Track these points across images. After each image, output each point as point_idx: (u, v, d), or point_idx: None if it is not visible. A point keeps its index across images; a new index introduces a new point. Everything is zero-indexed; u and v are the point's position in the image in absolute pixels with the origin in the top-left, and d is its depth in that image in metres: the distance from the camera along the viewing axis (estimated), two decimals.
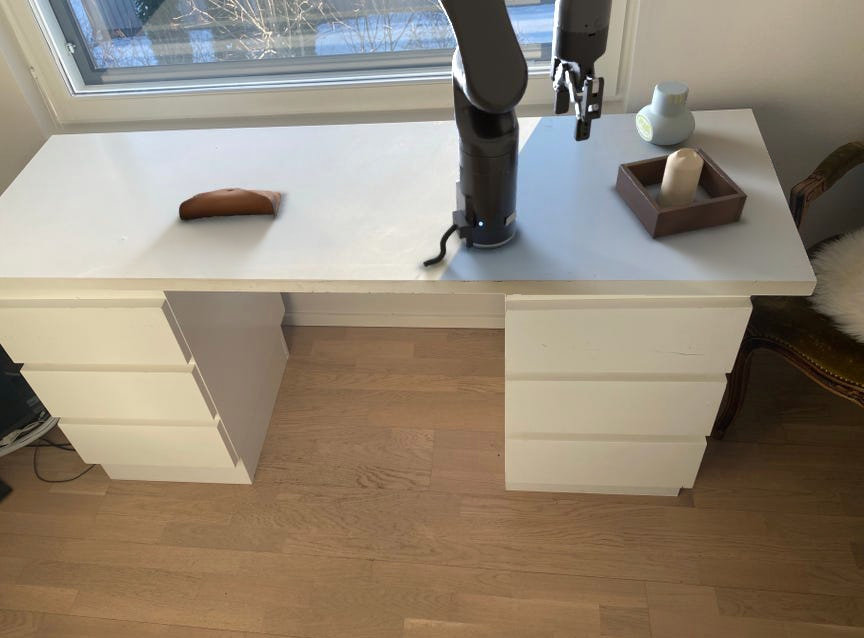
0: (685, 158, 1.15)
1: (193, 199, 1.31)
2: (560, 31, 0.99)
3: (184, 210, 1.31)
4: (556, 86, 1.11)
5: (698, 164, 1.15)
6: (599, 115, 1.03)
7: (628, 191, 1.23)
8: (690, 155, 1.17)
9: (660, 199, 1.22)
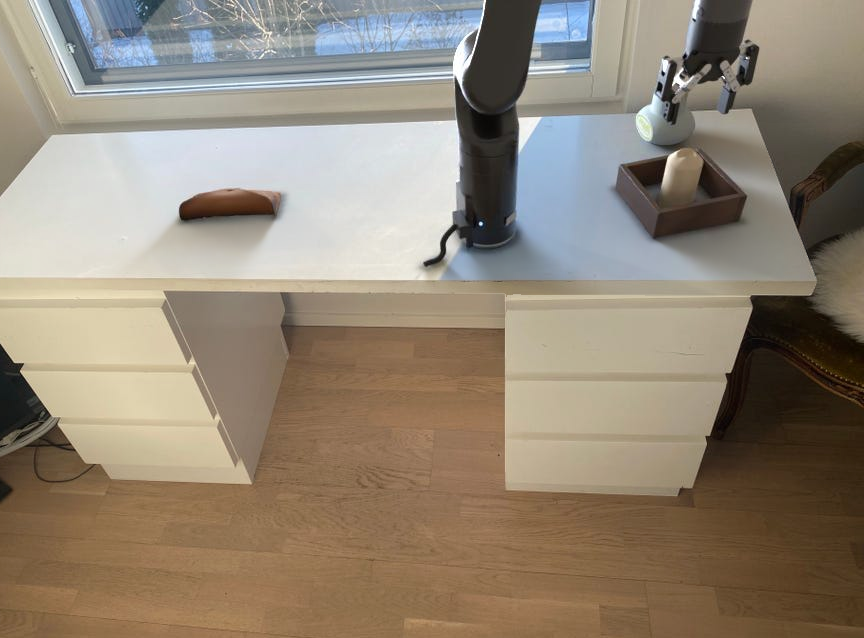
0: (685, 158, 1.15)
1: (193, 199, 1.31)
2: None
3: (184, 210, 1.31)
4: (724, 79, 1.09)
5: (698, 164, 1.15)
6: (661, 97, 1.07)
7: (628, 191, 1.23)
8: (690, 155, 1.17)
9: (660, 199, 1.22)
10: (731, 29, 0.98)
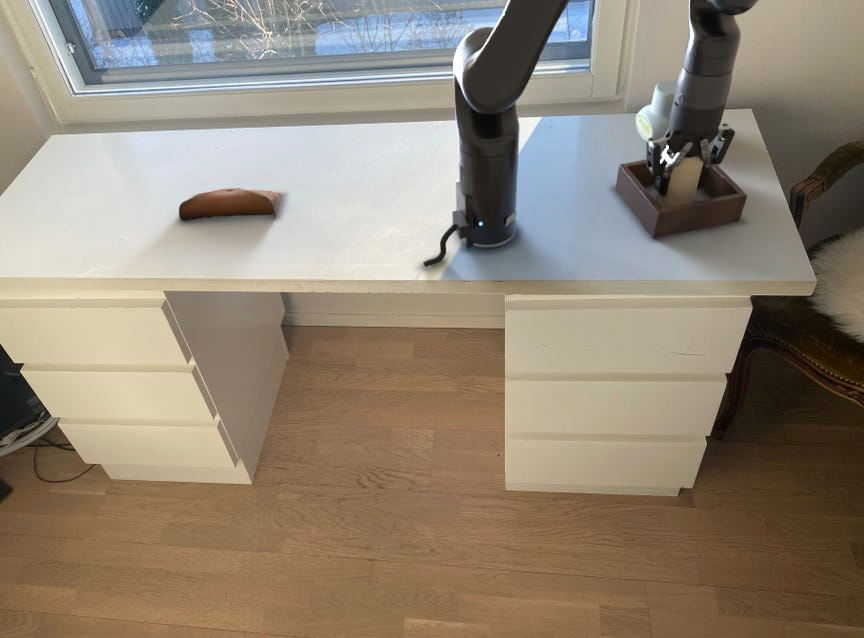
0: (685, 158, 1.15)
1: (193, 199, 1.31)
2: None
3: (184, 210, 1.31)
4: None
5: (698, 164, 1.15)
6: (652, 173, 1.16)
7: (628, 191, 1.23)
8: None
9: (660, 199, 1.22)
10: (710, 114, 1.07)
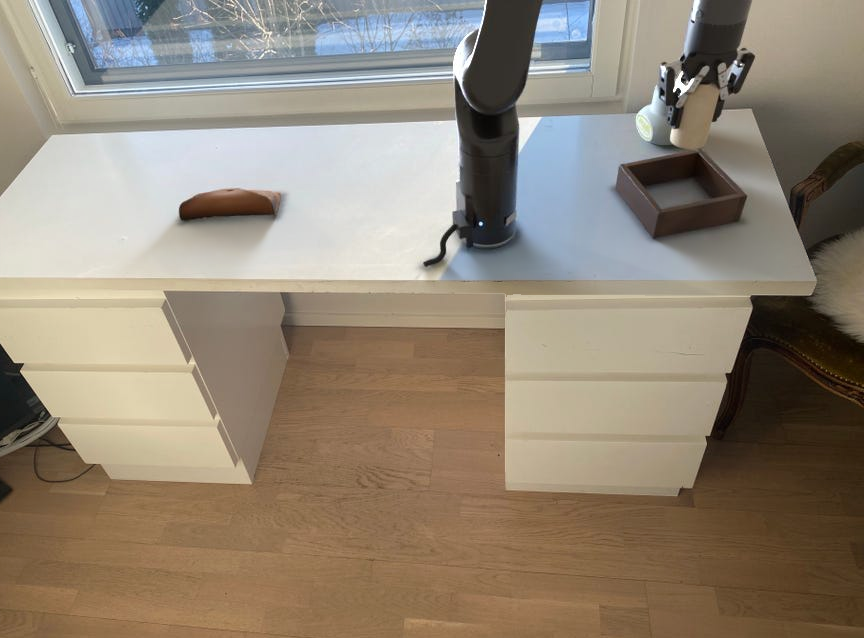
0: (700, 85, 1.06)
1: (193, 199, 1.31)
2: None
3: (184, 210, 1.31)
4: None
5: (715, 92, 1.07)
6: (665, 102, 1.08)
7: (628, 191, 1.23)
8: (706, 83, 1.08)
9: (672, 134, 1.13)
10: (729, 31, 0.98)
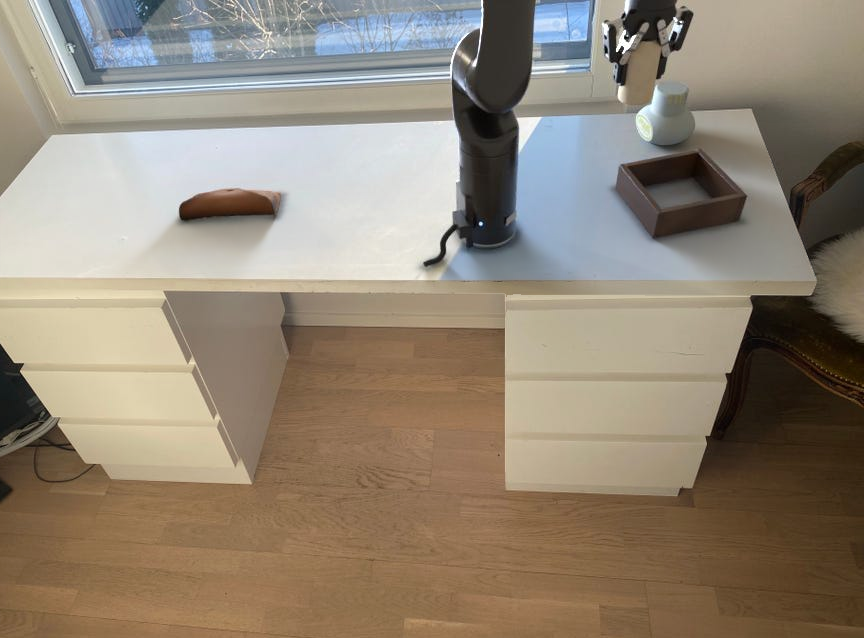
0: (642, 42, 1.11)
1: (193, 199, 1.31)
2: None
3: (184, 210, 1.31)
4: None
5: (656, 49, 1.11)
6: (609, 59, 1.12)
7: (628, 191, 1.23)
8: (648, 41, 1.13)
9: (619, 91, 1.18)
10: None
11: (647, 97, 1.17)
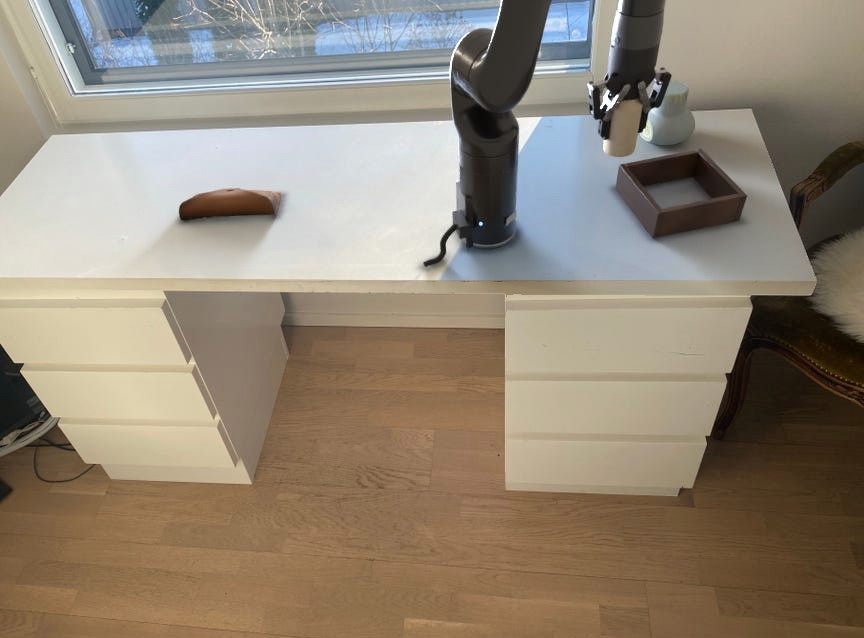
0: (624, 101, 1.20)
1: (193, 199, 1.31)
2: None
3: (184, 210, 1.31)
4: None
5: (637, 107, 1.20)
6: (593, 116, 1.21)
7: (628, 191, 1.23)
8: (630, 99, 1.21)
9: (604, 144, 1.27)
10: (643, 55, 1.12)
11: (630, 149, 1.25)
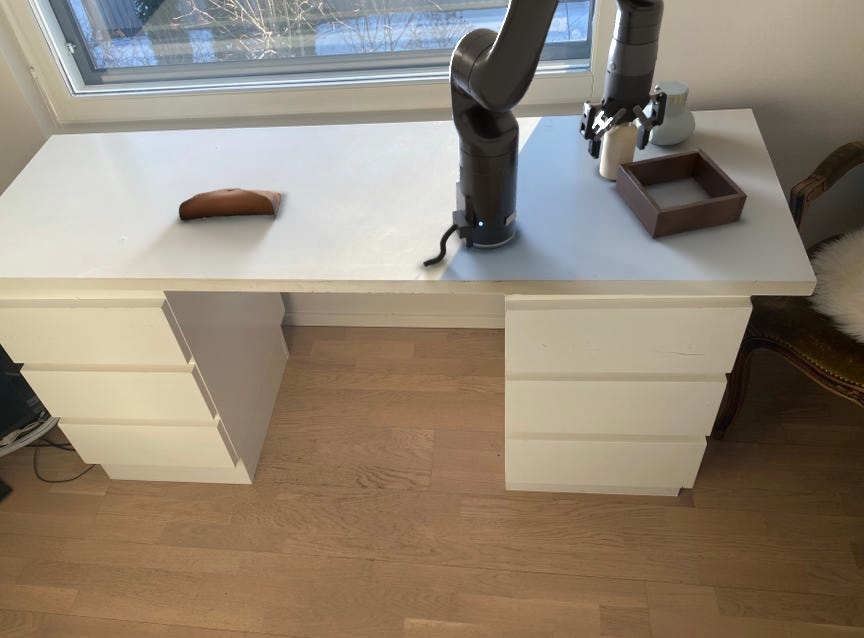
0: (620, 127, 1.23)
1: (193, 199, 1.31)
2: None
3: (184, 210, 1.31)
4: (640, 120, 1.26)
5: (633, 133, 1.23)
6: (584, 136, 1.23)
7: (628, 191, 1.23)
8: (626, 124, 1.25)
9: (601, 167, 1.30)
10: (639, 81, 1.15)
11: None
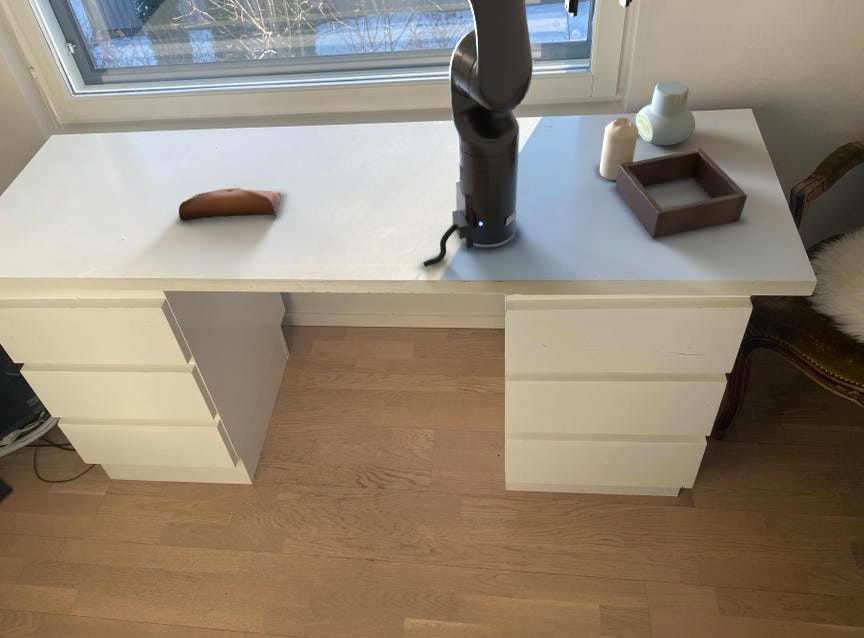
0: (620, 127, 1.23)
1: (193, 199, 1.31)
2: None
3: (184, 210, 1.31)
4: None
5: (633, 133, 1.23)
6: None
7: (628, 191, 1.23)
8: (626, 124, 1.25)
9: (601, 167, 1.30)
10: None
11: None
